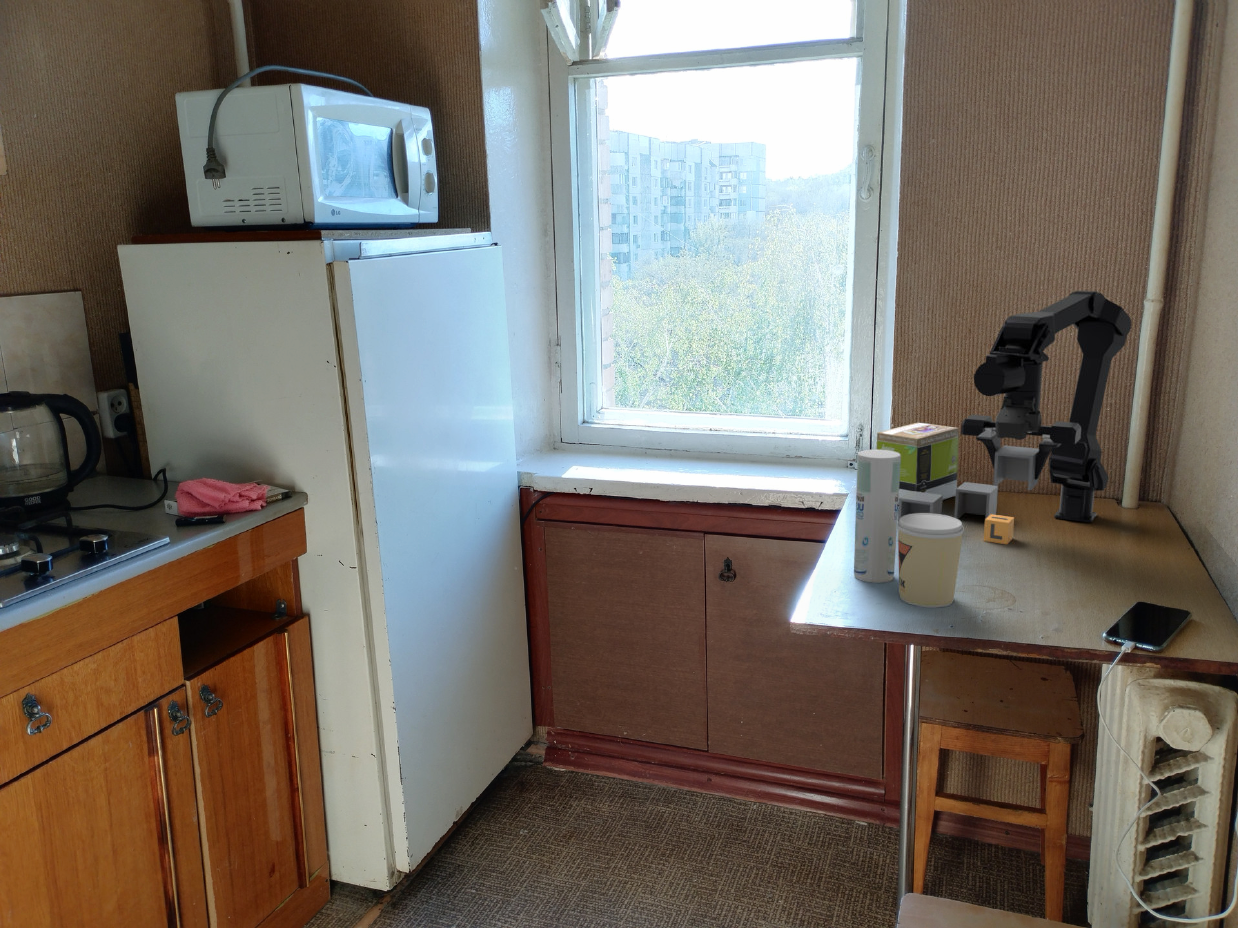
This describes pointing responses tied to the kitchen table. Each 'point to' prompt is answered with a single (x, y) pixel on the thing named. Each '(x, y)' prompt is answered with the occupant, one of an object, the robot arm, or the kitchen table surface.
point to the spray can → (876, 515)
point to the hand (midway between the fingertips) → (1016, 477)
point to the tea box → (924, 457)
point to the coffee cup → (928, 558)
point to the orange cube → (998, 529)
